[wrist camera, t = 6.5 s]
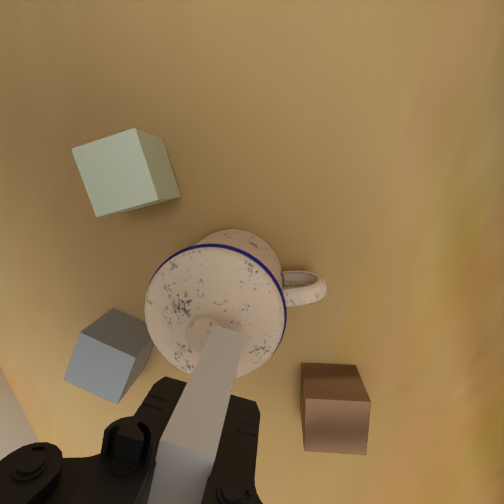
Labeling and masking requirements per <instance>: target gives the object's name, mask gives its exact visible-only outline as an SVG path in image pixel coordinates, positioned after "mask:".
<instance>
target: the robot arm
mask: <svg viewBox="0 0 504 504" xmlns="http://www.w3.org/2000/svg"><path fill="white" fill-rule="evenodd" d="M244 337H245V334H244V333H240V332H237V331H233V330H230V329H226V328H223V327H219V326H215V325H214V328H213V330H212V332H211V334H210V336H209V338H208V340H207V342H206V344H205V346H204V349H203V351H202V353H201V355H200V357H199V359H198V361H197V363H196V365H195V367H194V370H193V372H192V374H191V376H190V378H189V380H188V382H187V383H186V382H183V381H179V380H176V379H172V378H169V377H166V376H165V377H164V378H162V379H161V380H159V381H158V382H156V383H155V384H154V385H153V387H152V388H151V390H150V391H149V393H148V395H147V396H146V397H145V399H144V401H143V402H142V404H141V405H140V407H139V408H138V410H137V412H136V413H135V415H134V416H130V417H124V418H120V419H118V420H116V421H114V422H112V423H111V424H110V425H109V426H108V427H107V428H106V429H105V431H104V437H103V443H102V449H101V454H98V455H95V456H91V457H83V458H63V457H62V451H61V450H60V449H59V448H58V447H57V446H56V445H53V444H50V443H47V442H42V443H33V444H29V445H26V446H23V447H21V448H19V449H17V450H16V451H14V452H12V453H10V454H9V455H7V456H6V457H5V458H3V459H2V460H1V461H0V504H263V503H262V502H261V501H260V499H259V497H258V495H257V492H256V488H255V479H254V478H255V466H256V455H257V444H258V433H259V422H260V412H259V409H258V406H257V404H256V402H255V401H251V400H248V399H245V398H241V397H238V396H234V395H231V391H232V387H233V383H234V378H235V374H236V370H237V366H238V362H239V358H240V354H241V349H242V345H243V341H244Z"/></svg>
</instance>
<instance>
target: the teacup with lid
mask: <svg viewBox="0 0 504 504" xmlns="http://www.w3.org/2000/svg"><path fill="white" fill-rule="evenodd" d="M287 286H304V287H297V288H288V289H282V287H287ZM326 293H327V287H326V281H325V279H324V278H323V277H322V276H320V275H318V274H316V273H313V272H309V271H283V272H282V271H281V266H280V262H279V260H278V257H277V256H276V254H275V252H274V251H273V249H272V248H271V247H270V245H269V244H268V243H267V242H265V241H264V240H263V239H262V238H260V237H259V236H257V235H255V234H253V233H251V232H248V231H244V230H239V229H225V230H220V231H217V232H214V233H212V234H210V235H208V236H207V237H205V238H204V239H202V240H201V241H199V242H198V243H196V244H195V245H194V246H191V247H188V248H185V249H183V250H181V251H179V252H177V253H175V254H174V255H172V256H171V257H169V258H168V259H167V260H166V261H165V262H164V263H163V264H162V265H161V266H160V267H159V268H158V269H157V271H156V272H155V274H154V275H153V277H152V279H151V281H150V284H149V286H148V289H147V293H146V298H145V308H144V311H145V320H146V325H147V329H148V332H149V334H150V337H151V339H152V341H153V343H154V344H155V346H156V348H157V349H158V350H159V352H160V353H161V354H162V355H163V356H164V357H165V358H166V359H167V360H168V361H169V362H170V363H171V364H173V365H174V366H175V367H177V368H178V369H180V370H182V371H184V372H186V373H188V374H190V375H191V374H192V372H193V370H194V367H195V365H196V363H197V361H198V359H199V357H200V355H201V353H202V351H203V349H204V346H205V344H206V342H207V340H208V338H209V336H210V334H211V332H212V330H213V328H214V325H215V326H219V327H223V328H226V329H230V330H233V331H237V332H240V333H244V334H245V337H244V341H243V345H242V349H241V354H240V358H239V362H238V366H237V370H236V374H235V378H238V377H241V376H244V375H246V374H249V373H250V372H252V371H254V370H256V369H257V368H259V367H260V366H261V365H263V364H264V363H265V362H266V361H267V360H268V359H269V358H270V357H271V356H272V354H273V353H274V352H275V350H276V349H277V347H278V346H279V344H280V342H281V340H282V337H283V334H284V331H285V326H286V315H287V313H286V307H294V306H303V305H308V304H312V303H315V302H317V301H319V300H321V299H322V298H324V296H325V295H326Z"/></svg>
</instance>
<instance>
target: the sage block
mask: <svg viewBox="0 0 504 504" xmlns="http://www.w3.org/2000/svg"><path fill="white" fill-rule="evenodd" d="M71 150H72V153H73V156H74V158H75V161H76V164H77V167H78V169H79V172H80V175H81V177H82V180H83V183H84V185H85V188H86V191H87V193H88V196H89V199H90V201H91V204H92V207H93V210H94V212H95V215H96V217H101V216H107V215H112V214H118V213H124V212H129V211H133V210H136V209H140V208H143V207H147V206H150V205H154V204H157V203H161V202H164V201H168V200H171V199H175V198H178V197H181V196H180V193H179V190H178V187H177V183H176V180H175V177H174V174H173V171H172V167H171V164H170V161H169V158H168V155H167V151H166V148H165V145H164V142H163V139H162V138H160V137H157V136H155V135H152V134H150V133H147V132H145V131H142V130H139V129H137V128H133V129H129V130H126V131H123V132H120V133H117V134H114V135H111V136H108V137H105V138H102V139H99V140H96V141H93V142H90V143H87V144H84V145H81V146H78V147H75V148H72V149H71Z"/></svg>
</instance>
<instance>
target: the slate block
mask: <svg viewBox="0 0 504 504" xmlns="http://www.w3.org/2000/svg"><path fill="white" fill-rule="evenodd" d="M153 345H154V343H153V341H152V339H151V337H150V334H149V332H148V329H147V325H146V323H144V322H142V321H140V320H138V319H136V318H134V317H131V316H129V315H127V314H125V313H123V312H120V311H118V310H116V309H114V308H112V309H111V310H110V311H108V312H107V313H106V314H104V315H103V316H101V317H100V318H99V319H97V320H96V321H95V322H93V323H92V324H91V325H89V326H88V327H86V328H85V329H84V330H82V331H81V332H80V333H79V336H78V339H77V342H76V345H75V348H74V352H73V355H72V358H71V361H70V364H69V367H68V370H67V373H66V376H65V379H64V380H65V381H67V382H69V383H71V384H73V385H76V386H78V387H80V388H82V389H84V390H86V391H89V392H91V393H93V394H95V395H97V396H100V397H102V398H104V399H106V400H108V401H111V402H113V403H115V404H118V403H119V402H120V400H121V399H122V398H123V396H124V395H125V394H126V392H127V391H128V390H129V388H130V387H131V386H132V384H133V383H134V382H135V380H136V379H137V378H138V376H139V375H140V374H141V372H142V371H143V369H144V367H145V364H146V362H147V359H148V357H149V354H150V352H151V350H152V347H153Z"/></svg>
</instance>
